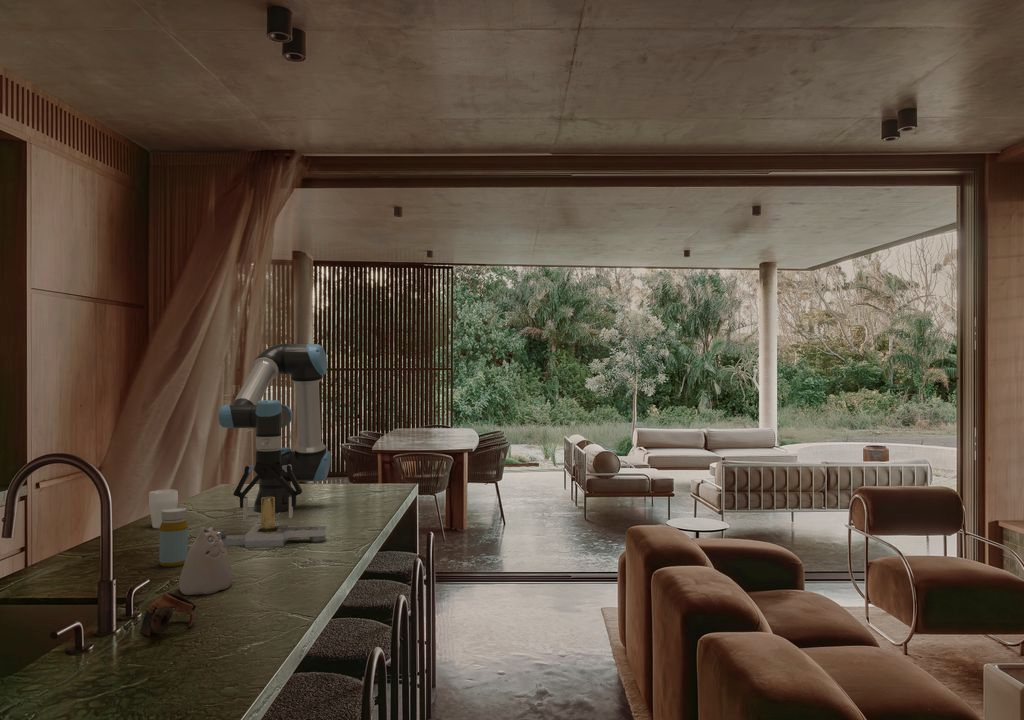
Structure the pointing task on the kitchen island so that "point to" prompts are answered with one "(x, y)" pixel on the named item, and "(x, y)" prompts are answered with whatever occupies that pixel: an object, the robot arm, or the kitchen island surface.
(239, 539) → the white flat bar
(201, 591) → the sculpture
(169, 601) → the brown curved piece
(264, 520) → the pin
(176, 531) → the bottle
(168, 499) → the cup
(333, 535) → the kitchen island surface
